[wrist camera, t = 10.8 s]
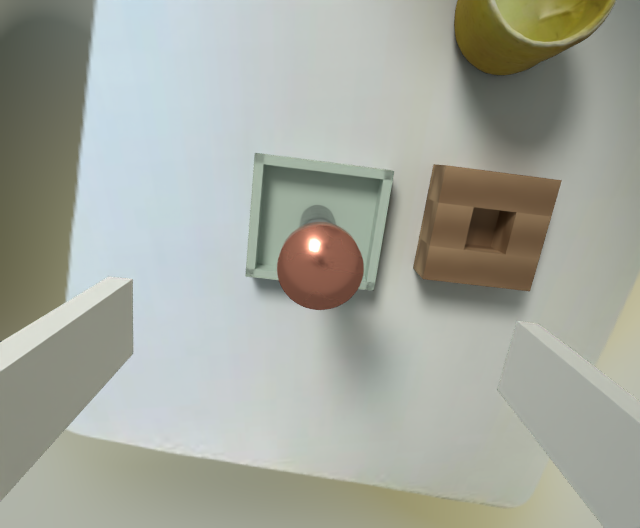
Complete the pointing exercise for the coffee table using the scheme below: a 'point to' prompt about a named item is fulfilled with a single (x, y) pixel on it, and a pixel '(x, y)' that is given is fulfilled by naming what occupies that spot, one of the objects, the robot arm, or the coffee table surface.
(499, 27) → the mug
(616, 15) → the coffee table surface
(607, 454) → the robot arm
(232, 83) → the coffee table surface
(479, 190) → the socket block
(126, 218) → the coffee table surface
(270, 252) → the tray
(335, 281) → the pin
